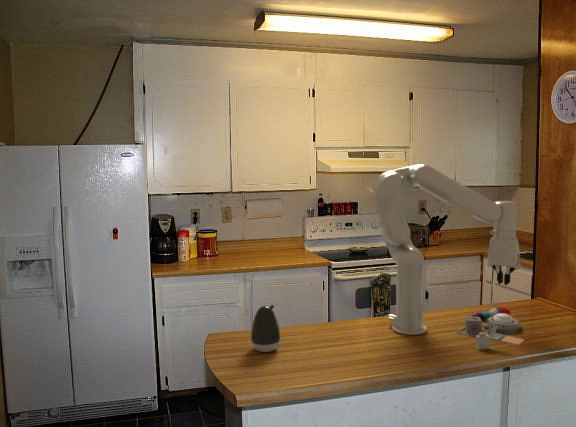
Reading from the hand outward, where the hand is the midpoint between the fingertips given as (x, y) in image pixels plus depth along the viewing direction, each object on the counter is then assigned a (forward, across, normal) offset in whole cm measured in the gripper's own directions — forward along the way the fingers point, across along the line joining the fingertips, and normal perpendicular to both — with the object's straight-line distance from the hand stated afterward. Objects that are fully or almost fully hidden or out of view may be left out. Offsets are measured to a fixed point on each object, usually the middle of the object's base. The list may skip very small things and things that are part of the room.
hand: (503, 283), depth 180 cm
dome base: (+17, 0, 0) cm, 17 cm away
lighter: (+17, +3, -23) cm, 29 cm away
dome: (+16, 0, 0) cm, 16 cm away
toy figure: (+18, -8, +9) cm, 21 cm away
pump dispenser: (+18, -54, -71) cm, 91 cm away
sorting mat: (+17, 0, -11) cm, 20 cm away
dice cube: (+17, -7, -11) cm, 21 cm away
